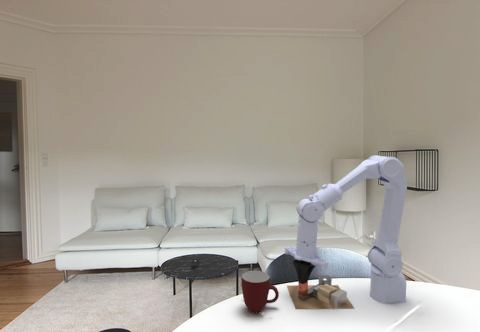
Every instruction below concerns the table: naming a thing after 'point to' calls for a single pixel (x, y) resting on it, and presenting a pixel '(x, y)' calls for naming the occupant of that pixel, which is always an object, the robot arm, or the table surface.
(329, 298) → the tan cube
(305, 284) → the lever
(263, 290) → the mug
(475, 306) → the table surface
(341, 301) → the brown grey rectangular block
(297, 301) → the board
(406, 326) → the table surface
